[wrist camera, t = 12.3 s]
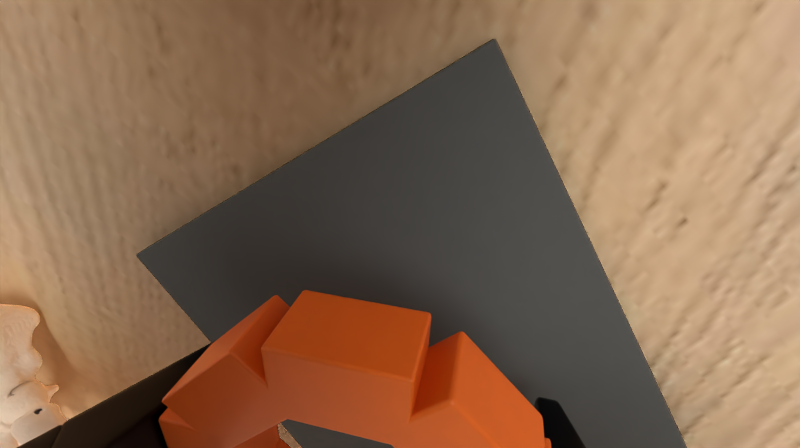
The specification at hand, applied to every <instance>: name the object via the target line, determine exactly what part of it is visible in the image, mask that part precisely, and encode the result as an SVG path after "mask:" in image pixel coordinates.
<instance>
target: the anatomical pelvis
mask: <svg viewBox="0 0 800 448" xmlns="http://www.w3.org/2000/svg"><path fill="white" fill-rule="evenodd" d="M39 323H40V316H39V314H38V312H37V311H35V310H34V309H32V308H29V307H26V306H20V305H10V304H0V448H17V447H19V446H20V445H22V444H24V443H26V442H28V441H30V440H32V439H34V438H36V437H38V436H40V435H41V434H43V433H45V432H47V431H49V430H51V429H53V428H54V427H56V426H58V425H63V424H64V422H66V421H67V420H66V418H65V417H64V415H63V414H62V413H61V411H60V408H59V406H58V405H57V404H54V403H50V400H51V397H52V395H53V394H54V393H55V392H57V391H58V390H59V386H58V385H47V386H44V385H43V384H42V383H41V382H40V381H39V380H37V379H36V378H35V375H36V374H37V372H38V370H39V367H40V366H41V365H42V357H41V355H40V354H39V353H38V352H37V351H36V350H35V349H34V348H33V347H32V334H33V331H34V328H35V327H36V326H37V325H38V324H39Z"/></svg>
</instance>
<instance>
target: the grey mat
mask: <svg viewBox="0 0 800 448" xmlns="http://www.w3.org/2000/svg"><path fill="white" fill-rule="evenodd" d="M136 256H137V257H138V258H139V259H140V261H141V262H142V263H143V264H144V265H145V266H146V268H147V269H148V270H149V271H150V272H151V273H152V275H153V276H154V277H155V278H156V279H157V280H158V281H159V283H160V284H161V285H162V286H163V287H164V288H165V290H166V291H167V292H168V293H169V294H170V295H171V296H172V298H173V299H174V300H175V301H176V302H177V303H178V305H179V306H180V307H181V308H182V309H183V310H184V311H185V313H186V314H187V315H188V316H189V317H190V318H191V320H192V321H193V322H194V323H195V324H196V325H197V326H198V328H199V329H200V330H201V331H202V332H203V333H204V335H205V336H206V337H207V338H208V339H209V340H210V342H211V343H212V342H214V341H216V340H217V339H219V338H220V337H221V336H223V335H224V334H225V333H226V332H228V331H229V330H230V329H232V328H233V327H234V326H235V325H237V324H238V323H239V322H241V321H242V320H243V319H245V318H246V317H247V316H248V315H250V314H251V313H252V312H254V311H255V310H256V309H257V308H259V307H260V306H261V305H263V304H264V303H265V302H266V301H268V300H269V299H270V298H272V297H273V296H275V295H278V296H279V297H280V298H281V299H282V300H283V301H284V302H285V303H286V304H287V305H288V306H289V307H291V306H292V305H293V303H294V302H295V301H296V299H297V298H298V297H299V295H300V294H301V292H302V291H304V290H309V291H315V292H320V293H325V294H331V295H336V296H342V297H347V298H353V299H358V300H364V301H369V302H375V303H380V304H385V305H391V306H396V307H402V308H407V309H413V310H418V311H424V312H428V313H430V314H431V327H430V337H429V347H431V346H432V345H434V344H436V343H438V342H440V341H442V340H444V339H446V338H448V337H450V336H452V335H454V334H456V333H457V332H460V331H462V332H464V333H465V334H466V335H467V336H468V337H469V338H470V339H471V340H472V341H473V342H474V343H475V344H476V345H477V347H478V348H479V349H480V350H481V351H482V352H483V353H484V354H485V355H486V356H487V357H488V358H489V359H490V360H491V362H492V363H493V364H494V365H495V366H496V367H497V368H498V369H499V370H500V371H501V372H502V373H503V374H504V375H505V377H506V378H507V379H508V380H509V381H510V382H511V383H512V384H513V385H514V386H515V387H516V388H517V389H518V390H519V392H520V393H521V394H522V395H523V396H524V397H525V398H526V399H527V400H528V401H529V402H530V403H531V404H532V405H533V407H534V404H535V401H536V399H537V398H538V397H543V398H548V399H553V400H556V401H558V402H559V404H560V405H561V407H562V408H563V410H564V412H565V413H566V415H567V417H568V418H569V420H570V422H571V423H572V425H573V427H574V428H575V430H576V432H577V433H578V435H579V437H580V438H581V440H582V442H583V443H584V445H585V447H586V448H687V447H686V444H685V442H684V440H683V438H682V436H681V433H680V431H679V429H678V427H677V425H676V423H675V421H674V419H673V416H672V414H671V412H670V410H669V408H668V406H667V404H666V401H665V399H664V397H663V395H662V393H661V391H660V389H659V387H658V384H657V382H656V380H655V378H654V376H653V374H652V372H651V369H650V367H649V365H648V363H647V361H646V359H645V357H644V355H643V352H642V350H641V348H640V346H639V344H638V342H637V340H636V337H635V335H634V333H633V331H632V329H631V327H630V325H629V323H628V320H627V318H626V316H625V314H624V312H623V310H622V308H621V305H620V303H619V301H618V299H617V297H616V295H615V293H614V290H613V288H612V286H611V284H610V282H609V280H608V278H607V276H606V273H605V271H604V269H603V267H602V265H601V263H600V261H599V258H598V256H597V254H596V252H595V250H594V248H593V246H592V244H591V241H590V239H589V237H588V235H587V233H586V231H585V229H584V226H583V224H582V222H581V220H580V218H579V216H578V214H577V212H576V209H575V207H574V205H573V203H572V201H571V199H570V197H569V194H568V192H567V190H566V188H565V186H564V184H563V182H562V180H561V177H560V175H559V173H558V171H557V169H556V167H555V165H554V162H553V160H552V158H551V156H550V154H549V152H548V150H547V148H546V145H545V143H544V141H543V139H542V137H541V135H540V133H539V130H538V128H537V126H536V124H535V122H534V120H533V118H532V115H531V113H530V111H529V109H528V107H527V105H526V103H525V101H524V98H523V96H522V94H521V92H520V90H519V88H518V86H517V83H516V81H515V79H514V77H513V75H512V73H511V71H510V69H509V66H508V64H507V62H506V60H505V58H504V56H503V54H502V51H501V49H500V47H499V45H498V43H497V41H496V39H492V40H490V41H489V42H487V43H485V44H484V45H482V46H480V47H479V48H477V49H475V50H474V51H472V52H470V53H469V54H467V55H466V56H464V57H462V58H461V59H459V60H457V61H456V62H454V63H452V64H451V65H449V66H447V67H446V68H444V69H442V70H441V71H439V72H437V73H436V74H434V75H432V76H431V77H429V78H427V79H426V80H424V81H422V82H421V83H419V84H417V85H416V86H414V87H412V88H411V89H409V90H408V91H406V92H404V93H403V94H401V95H399V96H398V97H396V98H394V99H393V100H391V101H389V102H388V103H386V104H384V105H383V106H381V107H379V108H378V109H376V110H374V111H373V112H371V113H369V114H368V115H366V116H364V117H363V118H361V119H359V120H358V121H356V122H354V123H353V124H351V125H350V126H348V127H346V128H345V129H343V130H341V131H340V132H338V133H336V134H335V135H333V136H331V137H330V138H328V139H326V140H325V141H323V142H321V143H320V144H318V145H316V146H315V147H313V148H311V149H310V150H308V151H306V152H305V153H303V154H301V155H300V156H298V157H296V158H295V159H293V160H292V161H290V162H288V163H287V164H285V165H283V166H282V167H280V168H278V169H277V170H275V171H273V172H272V173H270V174H268V175H267V176H265V177H263V178H262V179H260V180H258V181H257V182H255V183H253V184H252V185H250V186H248V187H247V188H245V189H243V190H242V191H240V192H239V193H237V194H235V195H234V196H232V197H230V198H229V199H227V200H225V201H224V202H222V203H220V204H219V205H217V206H215V207H214V208H212V209H210V210H209V211H207V212H205V213H204V214H202V215H200V216H199V217H197V218H195V219H194V220H192V221H190V222H189V223H187V224H185V225H184V226H182V227H181V228H179V229H177V230H176V231H174V232H172V233H171V234H169V235H167V236H166V237H164V238H162V239H161V240H159V241H157V242H156V243H154V244H152V245H151V246H149V247H147V248H146V249H144V250H142V251H141V252H139V253H138V254H137V255H136ZM281 424H282V425H283V426H284V427H285V428H286V429H287V430H288V432H289V433H290V434H291V435H292V436H293V437H294V439H295V440H296V441H297V442H298V443H299V444H300V445H301V447H302V448H394V447H393V446H392V445H390V444H386V443H382V442H378V441H374V440H370V439H366V438H362V437H358V436H354V435H350V434H346V433H342V432H338V431H334V430H330V429H326V428H322V427H318V426H314V425H310V424H305V423H301V422H297V421H293V420H289V419H287V420H285V421H283V422H281Z"/></svg>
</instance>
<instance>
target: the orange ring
mask: <svg viewBox="0 0 800 448" xmlns="http://www.w3.org/2000/svg"><path fill="white" fill-rule="evenodd" d="M430 327H431V314H430V313H428V312H424V311H418V310H413V309H407V308H402V307H396V306H391V305H385V304H380V303H375V302H369V301H364V300H358V299H353V298H347V297H342V296H336V295H331V294H325V293H320V292H315V291H309V290H304V291H302V292H301V294H300V295H299V297H298V298H297V299H296V301H295V302H294V303H293V305H292V306H291V307H289V306H288V305H287V304H286V303H285V302H284V301H283V300H282V299H281V298H280V297H279V296H278V295H275V296H273V297H272V298H270V299H269V300H268V301H266V302H265V303H264V304H263V305H261V306H260V307H259V308H257V309H256V310H255V311H254V312H252V313H251V314H250V315H248V316H247V317H246V318H245V319H243V320H242V321H241V322H239V323H238V324H237V325H235V326H234V327H233V328H232V329H230V330H229V331H228V332H226V333H225V334H224V335H223V336H221V337H220V338H219V339H217V340H216V341H215V342H214V343H212V344H211V345H210V346H209V348H208V349H207V350H206V351H205V352H204V353H203V354H202V355H201V356H200V358H199V359H198V360H197V361H196V362H195V363H194V364H193V365H192V367H191V368H190V369H189V370H188V371H187V372H186V373H185V374H184V375H183V377H182V378H181V379H180V380H179V381H178V382H177V383H176V384H175V385H174V387H173V388H172V389H171V390H170V391H169V392H168V393H167V394H166V395H165V397H164V398H163V400H162V402H163V404H165V405H166V406H167V407H168V408H167V409H166V410H165V411H164V413H163V414H162V415H161V416H160V418H159V424H160V427H161V430H162V433H163V436H164V439H165V441H166V444H167V447H168V448H291V447H290V446H289V445H287V444H286V443H285V442H284V441H283V440H282V439H281V438H279V432H278V425H277V424H279V423H281V422H283V421H285V420H287V419H289V420H293V421H297V422H301V423H305V424H310V425H314V426H318V427H322V428H326V429H330V430H334V431H338V432H342V433H346V434H350V435H354V436H358V437H362V438H366V439H370V440H374V441H378V442H382V443H386V444H390V445H392V446H393V447H394V448H551V441H550V439H548V438H545V437H544V427H543V418H542V416H541V414H540V413H539V412H538V411H537V410H536V409H535V408H534V407H533V405H532V404H531V403H530V402H529V401H528V400H527V399H526V398H525V397H524V396H523V395H522V394H521V393H520V392H519V390H518V389H517V388H516V387H515V386H514V385H513V384H512V383H511V382H510V381H509V380H508V379H507V378H506V377H505V375H504V374H503V373H502V372H501V371H500V370H499V369H498V368H497V367H496V366H495V365H494V364H493V363H492V362H491V360H490V359H489V358H488V357H487V356H486V355H485V354H484V353H483V352H482V351H481V350H480V349H479V348H478V347H477V345H476V344H475V343H474V342H473V341H472V340H471V339H470V338H469V337H468V336H467V335H466V334H465V333H464V332H462V331H460V332H457V333H456V334H454V335H452V336H450V337H448V338H446V339H444V340H442V341H440V342H438V343H436V344H434V345H432V346H431V347H429V337H430Z"/></svg>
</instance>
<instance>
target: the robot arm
mask: <svg viewBox="0 0 800 448" xmlns="http://www.w3.org/2000/svg"><path fill="white" fill-rule="evenodd" d="M214 342H215V341H214ZM214 342H212V343H214ZM212 343H210V344H208V345H206V346H205V347H203V348H201V349H199V350H197V351H195V352H194V353H192V354H190V355H188V356H186V357H184V358H182V359H181V360H179V361H177V362H175V363H173V364H171V365H169V366H168V367H166V368H164V369H162V370H160V371H158V372H156V373H155V374H153V375H151V376H149V377H147V378H145V379H144V380H142V381H140V382H138V383H136V384H134V385H132V386H131V387H129V388H127V389H125V390H123V391H121V392H119V393H118V394H116V395H114V396H112V397H110V398H108V399H107V400H105V401H103V402H101V403H99V404H97V405H95V406H94V407H92V408H90V409H88V410H86V411H84V412H82V413H81V414H79V415H77V416H75V417H73V418H71V419H69V420H68V421H66V422H64V424H63V425H58V426H56V427H54V428H53V429H51V430H49V431H47V432H45V433H43V434H41V435H40V436H38V437H36V438H34V439H32V440H30V441H28V442H26V443H24V444H22V445H20V446H19V447H17V448H168V447H167V444H166V441H165V439H164V436H163V433H162V430H161V427H160V424H159V418H160V416H161V415H162V414H163V413H164V411H165V410H166V409H167V408H168V407H167V406H166V405H165V404H163V402H162V400H163V398H164V397H165V395H166V394H167V393H168V392H169V391H170V390H171V389H172V388H173V387H174V385H175V384H176V383H177V382H178V381H179V380H180V379H181V378H182V377H183V375H184V374H185V373H186V372H187V371H188V370H189V369H190V368H191V367H192V365H193V364H194V363H195V362H196V361H197V360H198V359H199V358H200V356H201V355H202V354H203V353H204V352H205V351H206V350H207V349H208V348H209V346H210V345H211V344H212ZM534 408H535V409H536V410H537V411H538V412H539V413H540V414H541V416H542V418H543V427H544V437H545V438H548V439H550V441H551V448H586V447H585V445H584V443H583V442H582V440H581V438H580V437H579V435H578V433H577V432H576V430H575V428H574V427H573V425H572V423H571V422H570V420H569V418H568V417H567V415H566V413H565V412H564V410H563V408H562V407H561V405H560V404H559V402H558V401H556V400H553V399H548V398H543V397H538V398H537V399H536V401H535V404H534Z"/></svg>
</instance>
